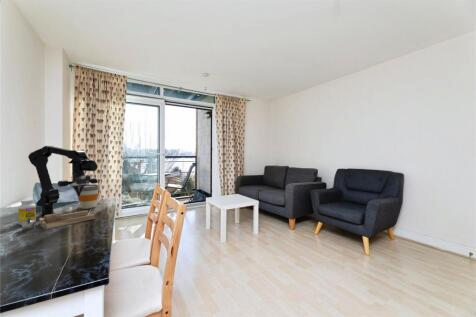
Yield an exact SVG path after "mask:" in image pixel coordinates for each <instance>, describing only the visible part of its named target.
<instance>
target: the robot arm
mask: <svg viewBox="0 0 476 317" xmlns="http://www.w3.org/2000/svg"><path fill="white" fill-rule="evenodd" d="M52 154H55V155H59V156H63V157H64V156H65V157H67V158H68V159H70V161H69V162H68V164H71V171H72V172H71V175H72V176H71V178H72V179H71V180H72V181H71V180H70V181H68V180H67V179H65V180H59V181H58V182H57V186H58V187H68V186H69V187H72V188H73V190H74V192H75V194H76V196H77V197H78V196H80V194H81V191H82V189H83V187H84V186H86V185H87V184H88V183H89V184H91V185H94V184H98V179H97V178H95V177H91V175H90V174H88V175H86V174H85V172H95V171H97V170H98V164H97V162H96V159H90V158H89V157H88V155H87V154H86V151H84V150H79V149H78V150H75V149H73V150H72V149H65V148H61V147H56V146H53V145H44V146H43V147H41V148H38V149H36V150H34V151H32V152H30V153H29V154H28V157H27V158H28V161H29V162H30V164H32V166H34V167H35V169H36V173H37V177H38V180H39V183H40V187H41V192H40V195H39V196H40V198H39V200H37V201H36V203H35V205H36V207H40V213H39V216H40V217H44V215H50V214H56V212H55V211H54V204H57V203H58V201H59V199H60V195H61V194H60V192H59V189H58V188H54V186H53V184H52V180H51V176H50V173H49V170H48V165H47V164H48V162H49V158H50V157H51V156H52Z"/></svg>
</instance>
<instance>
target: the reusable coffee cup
mask: <svg viewBox="0 0 476 317" xmlns="http://www.w3.org/2000/svg"><path fill="white" fill-rule="evenodd" d="M99 186H100V185H99V184H86V186H84V187H83V189H82V191H81V194H80V196H77V199H78V200H77V201H78V202H79V205H80V209H82V210H83V209H92V207H93V208H95V206H96V207H97V201H98V199H99V189H100V188H99Z"/></svg>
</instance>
